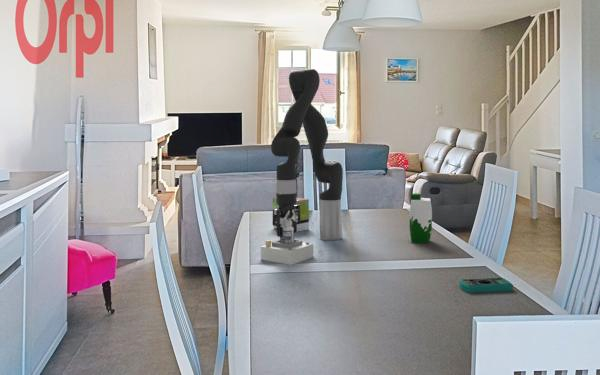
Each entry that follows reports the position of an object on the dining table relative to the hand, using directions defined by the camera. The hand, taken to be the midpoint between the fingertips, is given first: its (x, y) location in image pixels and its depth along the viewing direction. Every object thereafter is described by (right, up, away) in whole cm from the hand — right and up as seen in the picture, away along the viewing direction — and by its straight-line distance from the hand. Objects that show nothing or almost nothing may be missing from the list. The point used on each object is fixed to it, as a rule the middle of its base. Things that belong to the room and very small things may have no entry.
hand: (287, 234), depth 218 cm
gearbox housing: (0, -9, +1) cm, 9 cm away
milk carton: (+55, -5, +27) cm, 62 cm away
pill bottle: (0, -4, 0) cm, 4 cm away
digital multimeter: (+62, -14, -39) cm, 74 cm away
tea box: (+1, -2, +57) cm, 57 cm away
